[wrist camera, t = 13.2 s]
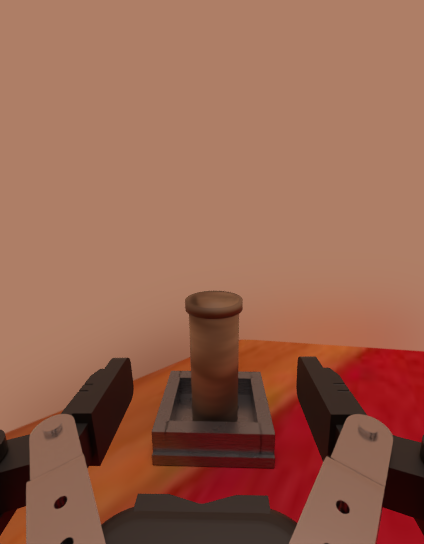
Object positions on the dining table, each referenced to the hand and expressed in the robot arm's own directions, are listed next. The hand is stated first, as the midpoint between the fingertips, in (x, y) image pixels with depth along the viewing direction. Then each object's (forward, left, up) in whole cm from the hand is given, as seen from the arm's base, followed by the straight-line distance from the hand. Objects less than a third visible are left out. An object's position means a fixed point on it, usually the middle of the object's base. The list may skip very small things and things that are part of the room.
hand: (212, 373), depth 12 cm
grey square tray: (0, -11, -13) cm, 17 cm away
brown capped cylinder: (0, -11, -12) cm, 16 cm away
